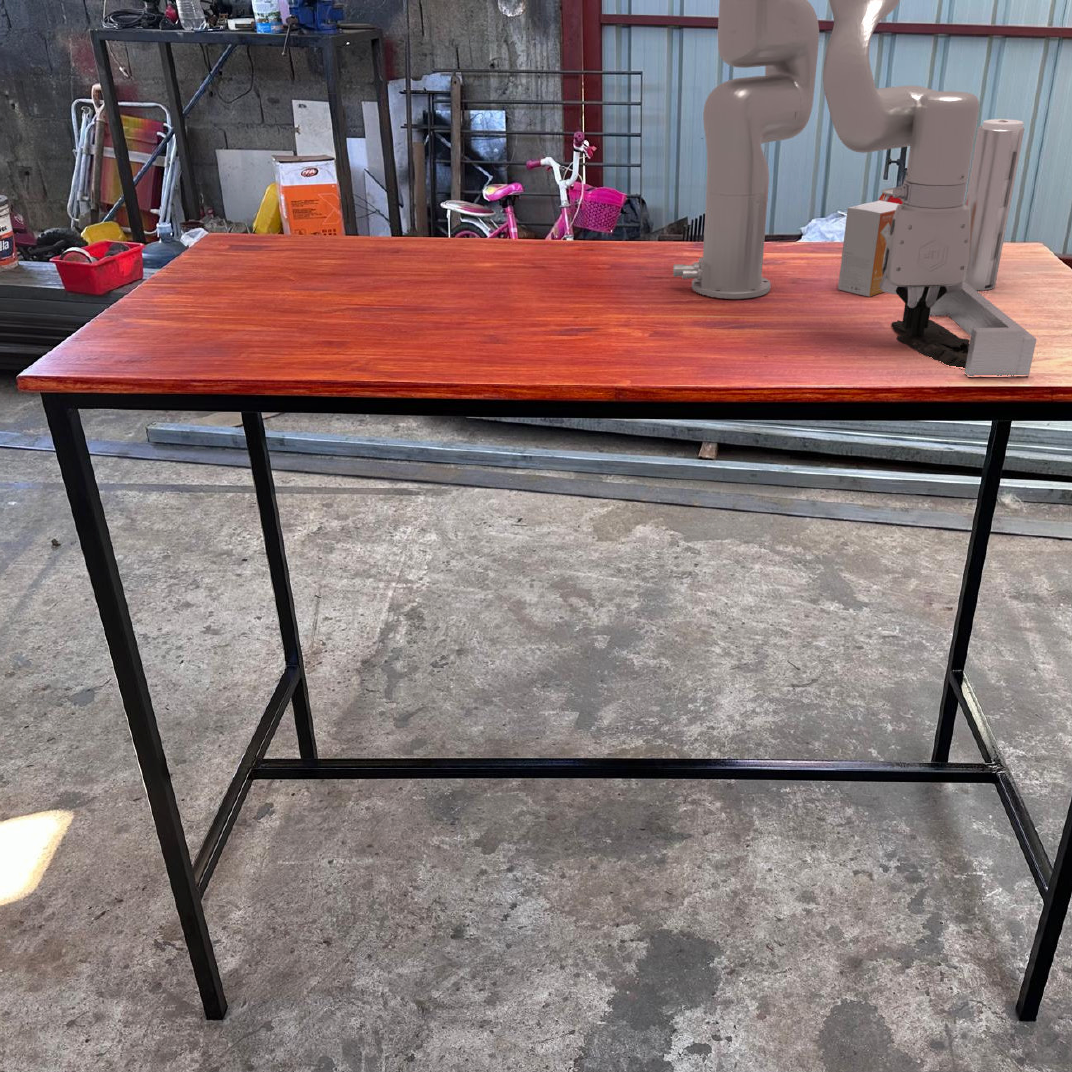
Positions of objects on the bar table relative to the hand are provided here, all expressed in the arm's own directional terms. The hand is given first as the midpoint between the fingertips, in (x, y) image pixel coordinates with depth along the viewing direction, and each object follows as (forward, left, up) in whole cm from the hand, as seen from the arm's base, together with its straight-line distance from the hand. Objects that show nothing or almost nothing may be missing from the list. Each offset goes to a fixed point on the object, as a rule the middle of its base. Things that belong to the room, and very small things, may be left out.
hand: (913, 333), depth 145 cm
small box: (+1, +28, -2) cm, 28 cm away
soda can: (+9, +45, -2) cm, 46 cm away
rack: (+7, 0, -2) cm, 8 cm away
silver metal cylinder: (+18, +29, -2) cm, 34 cm away
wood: (+3, -1, -2) cm, 4 cm away
